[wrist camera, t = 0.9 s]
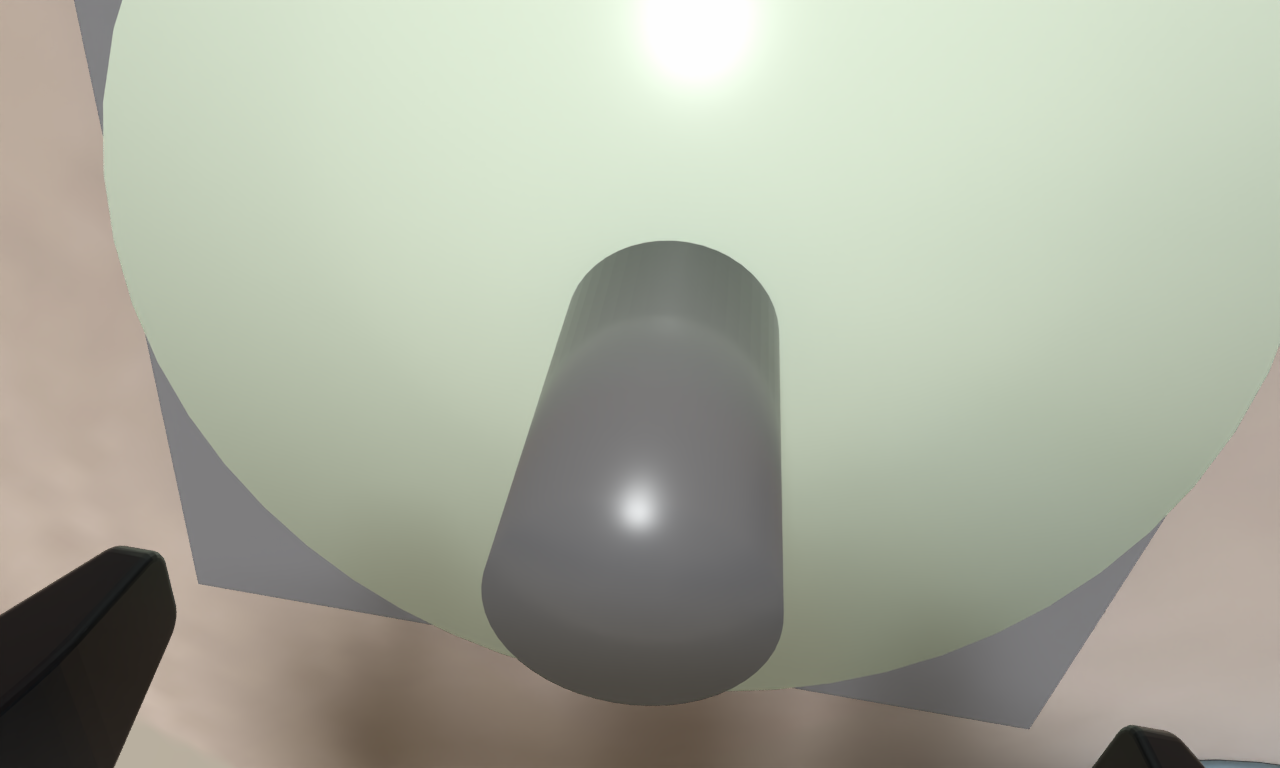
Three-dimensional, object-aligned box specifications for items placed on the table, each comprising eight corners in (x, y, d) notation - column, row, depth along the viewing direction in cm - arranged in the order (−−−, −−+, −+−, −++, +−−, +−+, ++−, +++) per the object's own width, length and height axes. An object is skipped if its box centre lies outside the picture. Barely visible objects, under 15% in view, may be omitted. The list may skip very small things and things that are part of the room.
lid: (1600, -250, 9) (2462, -180, 5) (1013, 708, 19) (1096, 1056, 14) (11, -510, 10) (-751, -704, 5) (219, 571, 19) (34, 869, 14)
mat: (1616, -303, 10) (1690, -303, 9) (1018, 687, 20) (1028, 729, 19) (14, -567, 10) (-52, -588, 9) (221, 548, 20) (197, 583, 19)
